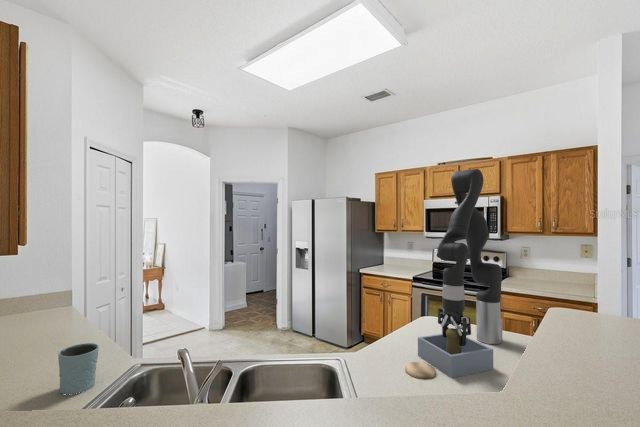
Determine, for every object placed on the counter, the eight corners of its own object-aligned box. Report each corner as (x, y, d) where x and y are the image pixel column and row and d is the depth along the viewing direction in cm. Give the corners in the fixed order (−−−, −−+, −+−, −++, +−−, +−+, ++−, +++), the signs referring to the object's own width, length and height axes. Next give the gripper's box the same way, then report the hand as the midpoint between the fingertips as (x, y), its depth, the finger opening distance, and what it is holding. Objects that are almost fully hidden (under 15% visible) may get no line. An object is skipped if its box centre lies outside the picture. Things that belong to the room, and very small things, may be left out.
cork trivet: (423, 363, 115) (423, 360, 115) (442, 375, 106) (442, 372, 106) (399, 367, 112) (399, 364, 112) (416, 380, 103) (416, 377, 103)
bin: (455, 349, 127) (455, 331, 127) (493, 369, 110) (493, 349, 110) (417, 355, 122) (417, 337, 122) (451, 377, 105) (451, 356, 105)
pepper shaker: (464, 363, 112) (464, 332, 113) (446, 362, 113) (446, 331, 114) (460, 356, 118) (460, 327, 118) (443, 355, 119) (443, 326, 120)
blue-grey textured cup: (68, 381, 102) (69, 344, 102) (104, 378, 105) (104, 341, 105) (49, 399, 92) (50, 357, 93) (89, 394, 95) (89, 354, 95)
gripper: (476, 300, 111) (477, 347, 111) (448, 291, 124) (448, 333, 124) (459, 302, 108) (459, 350, 108) (432, 293, 122) (432, 335, 122)
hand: (453, 341), depth 116 cm, fingers open, 8 cm apart
